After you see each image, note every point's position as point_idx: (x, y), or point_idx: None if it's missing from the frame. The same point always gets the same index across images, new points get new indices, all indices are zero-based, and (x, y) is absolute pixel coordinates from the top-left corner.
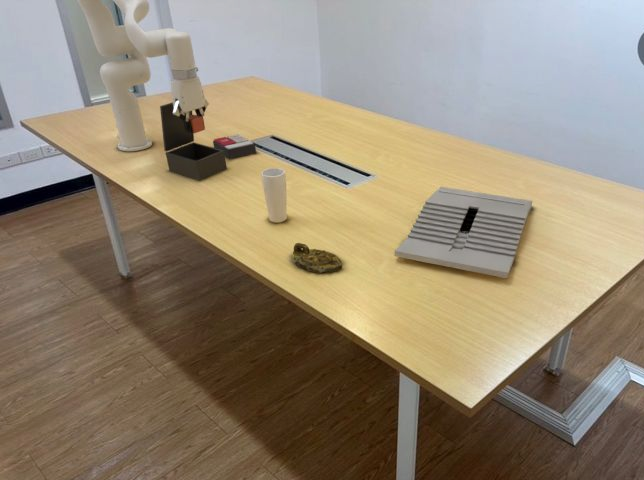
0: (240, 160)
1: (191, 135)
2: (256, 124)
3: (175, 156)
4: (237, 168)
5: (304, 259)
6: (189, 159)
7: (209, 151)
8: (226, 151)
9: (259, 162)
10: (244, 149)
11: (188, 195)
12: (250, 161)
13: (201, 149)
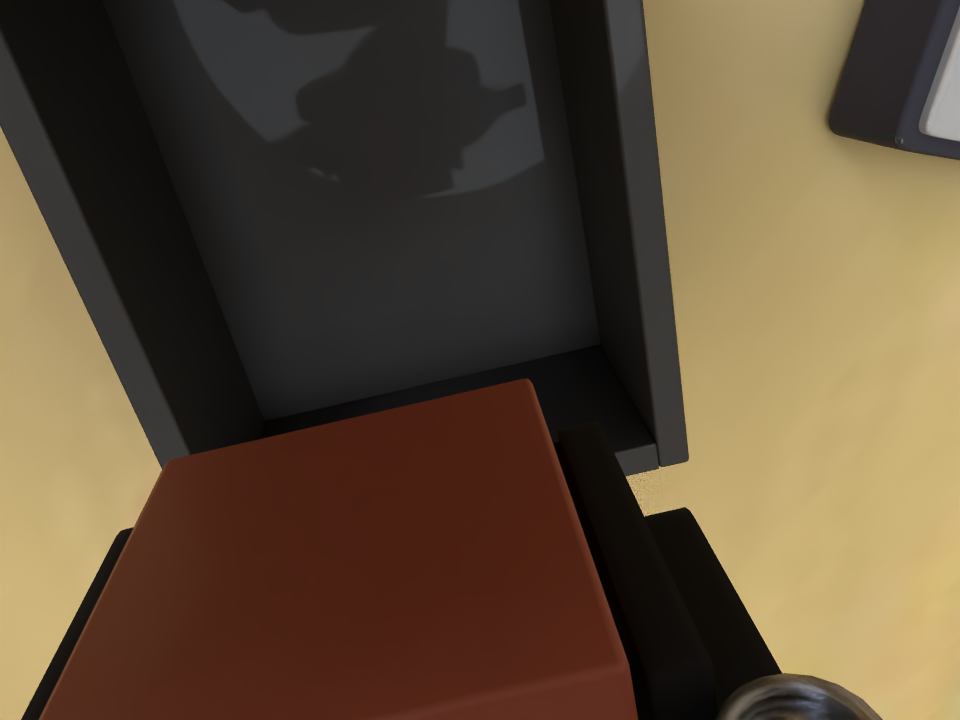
0: (873, 238)
1: None
2: None
3: (24, 166)
4: (699, 401)
5: None
6: (163, 453)
7: (610, 197)
8: (891, 80)
9: (934, 410)
10: None
11: (39, 624)
12: (908, 333)
13: (585, 4)
